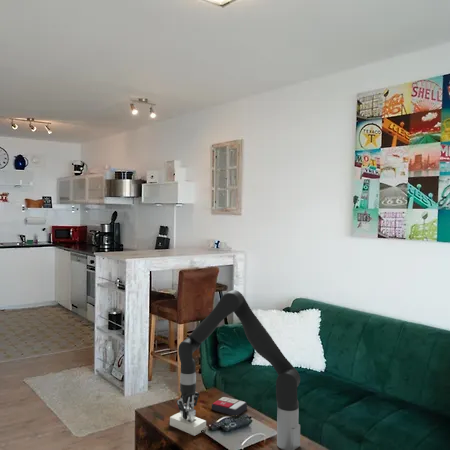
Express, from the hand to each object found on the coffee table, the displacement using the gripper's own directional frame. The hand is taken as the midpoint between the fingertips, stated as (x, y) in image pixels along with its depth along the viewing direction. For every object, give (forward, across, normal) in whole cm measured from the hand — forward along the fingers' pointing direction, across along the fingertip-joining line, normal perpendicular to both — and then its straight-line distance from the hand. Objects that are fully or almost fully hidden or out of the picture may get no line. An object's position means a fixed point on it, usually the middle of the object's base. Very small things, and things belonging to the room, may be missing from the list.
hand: (188, 417), depth 217 cm
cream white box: (+5, 0, 0) cm, 5 cm away
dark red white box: (+6, +28, -3) cm, 28 cm away
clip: (+3, 0, 0) cm, 3 cm away
